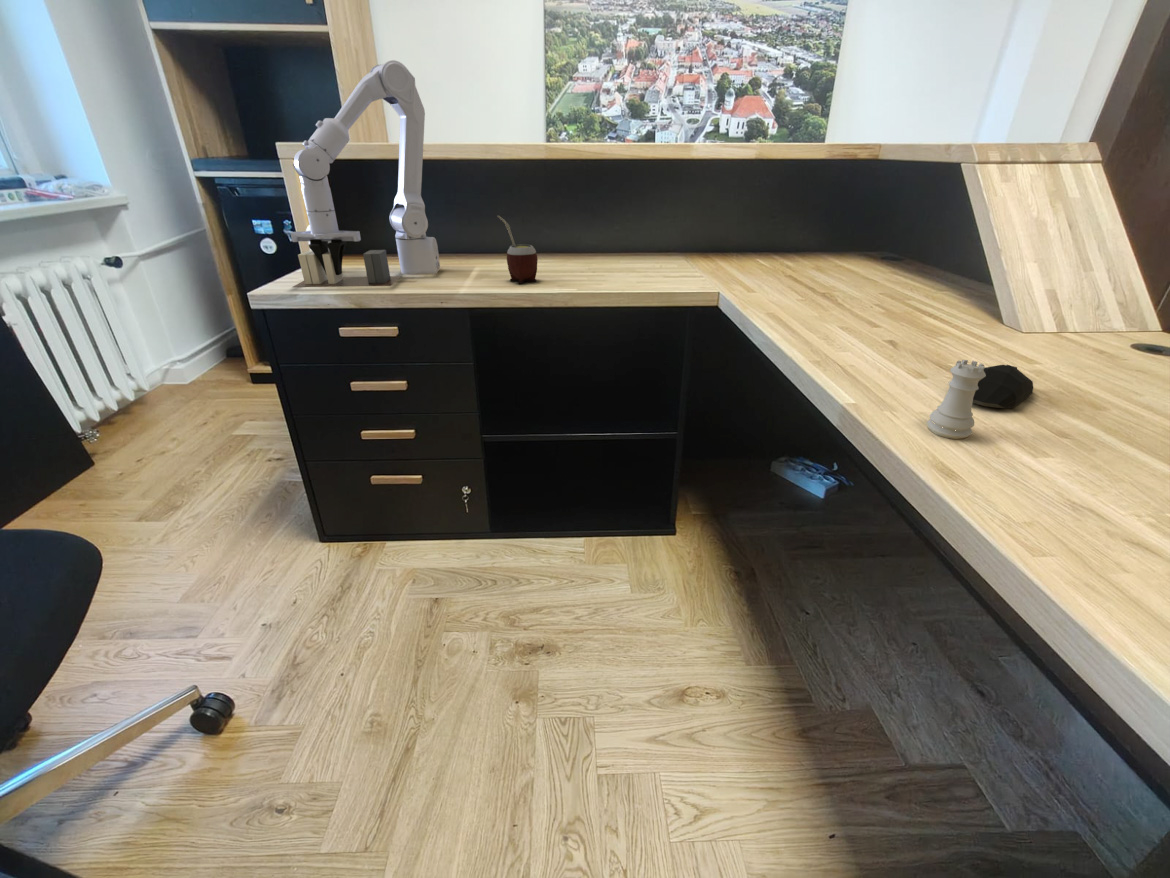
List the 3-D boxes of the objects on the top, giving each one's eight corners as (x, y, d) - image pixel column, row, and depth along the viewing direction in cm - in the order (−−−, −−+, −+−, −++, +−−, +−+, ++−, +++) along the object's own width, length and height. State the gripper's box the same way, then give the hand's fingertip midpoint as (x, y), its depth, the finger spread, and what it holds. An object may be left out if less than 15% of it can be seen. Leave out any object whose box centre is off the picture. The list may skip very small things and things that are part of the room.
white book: (343, 279, 131) (337, 250, 128) (335, 283, 126) (329, 254, 123) (336, 279, 131) (330, 250, 128) (328, 284, 126) (322, 254, 123)
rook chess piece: (921, 420, 65) (941, 355, 61) (964, 424, 64) (988, 358, 60) (930, 437, 61) (952, 369, 57) (976, 442, 60) (1002, 373, 56)
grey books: (390, 278, 131) (385, 249, 128) (384, 283, 127) (379, 253, 123) (374, 278, 131) (369, 250, 128) (368, 283, 126) (362, 253, 123)
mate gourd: (541, 278, 133) (538, 211, 126) (533, 286, 126) (530, 215, 119) (511, 277, 134) (506, 211, 127) (502, 285, 127) (496, 215, 120)
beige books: (328, 279, 131) (321, 250, 127) (320, 284, 126) (313, 254, 123) (313, 279, 130) (306, 250, 127) (304, 284, 126) (297, 254, 123)
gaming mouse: (1049, 387, 73) (1062, 358, 71) (1001, 416, 66) (1014, 385, 64) (996, 373, 78) (1006, 345, 76) (946, 399, 70) (955, 369, 68)
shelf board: (402, 279, 134) (402, 276, 133) (391, 289, 125) (390, 285, 124) (310, 280, 133) (309, 277, 133) (292, 290, 124) (291, 287, 124)
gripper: (278, 213, 117) (294, 278, 124) (348, 212, 118) (360, 277, 124) (293, 209, 124) (307, 271, 130) (358, 209, 124) (369, 271, 130)
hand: (334, 274), depth 128 cm, fingers closed on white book, 2 cm apart
